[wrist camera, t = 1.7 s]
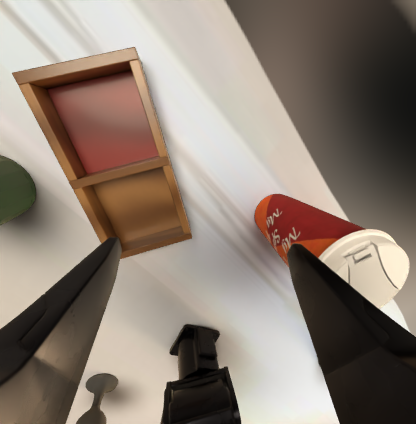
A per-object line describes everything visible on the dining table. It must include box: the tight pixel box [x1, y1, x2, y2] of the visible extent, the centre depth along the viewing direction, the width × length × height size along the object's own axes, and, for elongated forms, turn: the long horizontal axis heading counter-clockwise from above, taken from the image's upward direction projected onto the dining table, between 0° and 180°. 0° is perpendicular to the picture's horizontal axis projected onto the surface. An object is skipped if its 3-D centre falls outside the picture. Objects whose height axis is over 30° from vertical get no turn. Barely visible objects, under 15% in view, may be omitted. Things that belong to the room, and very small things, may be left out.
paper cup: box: [255, 194, 409, 309], centre depth 21 cm, size 8×8×14 cm
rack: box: [12, 47, 192, 259], centre depth 20 cm, size 18×9×3 cm, turn 13°
